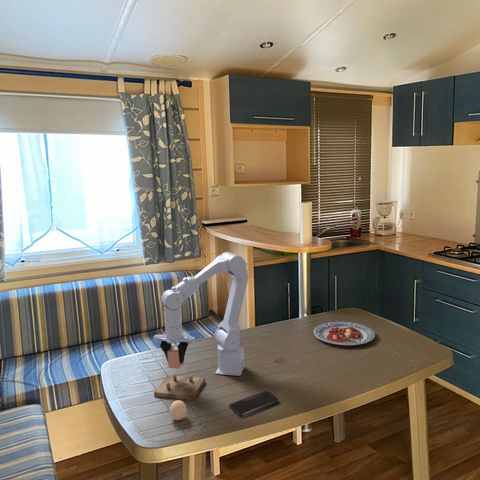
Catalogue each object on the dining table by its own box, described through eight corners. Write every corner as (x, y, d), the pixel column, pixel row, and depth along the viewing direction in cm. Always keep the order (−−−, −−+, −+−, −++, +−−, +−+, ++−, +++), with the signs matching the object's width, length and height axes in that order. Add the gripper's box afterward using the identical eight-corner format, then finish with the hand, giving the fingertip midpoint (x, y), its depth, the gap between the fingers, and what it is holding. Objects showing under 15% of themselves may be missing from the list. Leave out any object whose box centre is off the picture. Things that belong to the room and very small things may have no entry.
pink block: (183, 363, 153) (182, 347, 152) (179, 368, 149) (178, 352, 148) (172, 362, 154) (171, 346, 153) (168, 367, 150) (167, 351, 149)
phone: (280, 400, 138) (240, 415, 131) (280, 403, 138) (240, 419, 131) (266, 390, 145) (227, 404, 137) (266, 393, 145) (227, 407, 138)
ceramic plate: (313, 325, 203) (313, 319, 202) (369, 326, 199) (370, 320, 199) (314, 348, 178) (314, 341, 177) (379, 350, 174) (379, 343, 174)
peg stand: (204, 382, 153) (204, 372, 153) (193, 400, 142) (193, 390, 141) (168, 379, 157) (167, 370, 156) (154, 396, 145) (153, 386, 145)
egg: (189, 421, 130) (187, 403, 129) (172, 425, 128) (170, 407, 127) (185, 412, 135) (183, 395, 134) (168, 416, 133) (167, 398, 132)
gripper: (148, 327, 147) (151, 365, 149) (189, 330, 143) (191, 368, 146) (157, 320, 154) (160, 356, 156) (196, 322, 150) (198, 359, 153)
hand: (175, 361), depth 151 cm, fingers closed on pink block, 4 cm apart
